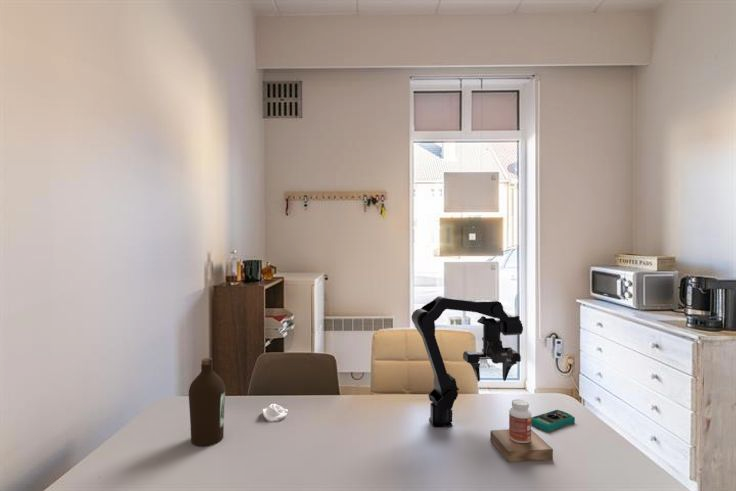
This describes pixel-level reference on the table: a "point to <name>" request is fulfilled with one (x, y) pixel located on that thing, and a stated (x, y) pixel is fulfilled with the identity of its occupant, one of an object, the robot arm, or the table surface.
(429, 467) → the table surface
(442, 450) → the table surface
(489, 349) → the robot arm
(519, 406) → the pill bottle
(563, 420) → the digital multimeter
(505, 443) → the walnut base
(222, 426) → the olive oil
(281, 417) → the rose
